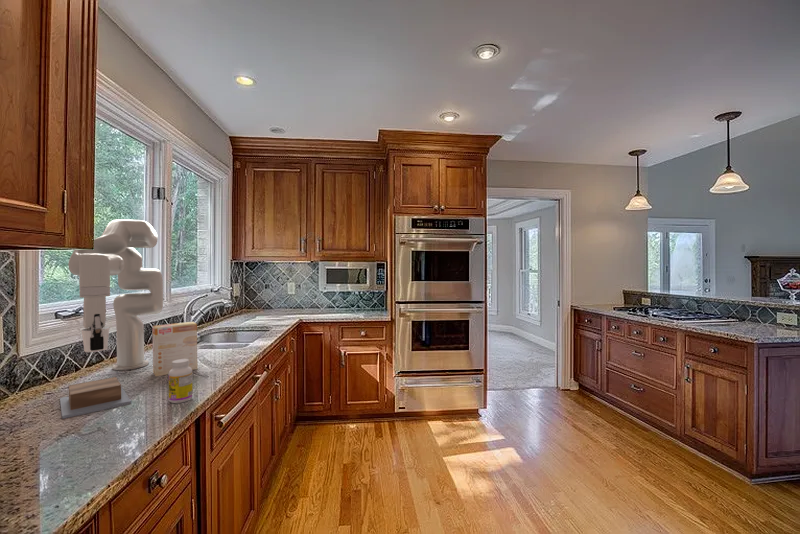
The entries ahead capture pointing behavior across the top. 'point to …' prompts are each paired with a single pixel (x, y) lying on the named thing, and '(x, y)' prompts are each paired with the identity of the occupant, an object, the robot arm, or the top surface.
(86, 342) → the white tapered cup
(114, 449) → the top surface
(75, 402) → the walnut plinth
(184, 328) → the coffeecake box
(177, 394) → the supplement bottle
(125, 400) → the slate gray board
